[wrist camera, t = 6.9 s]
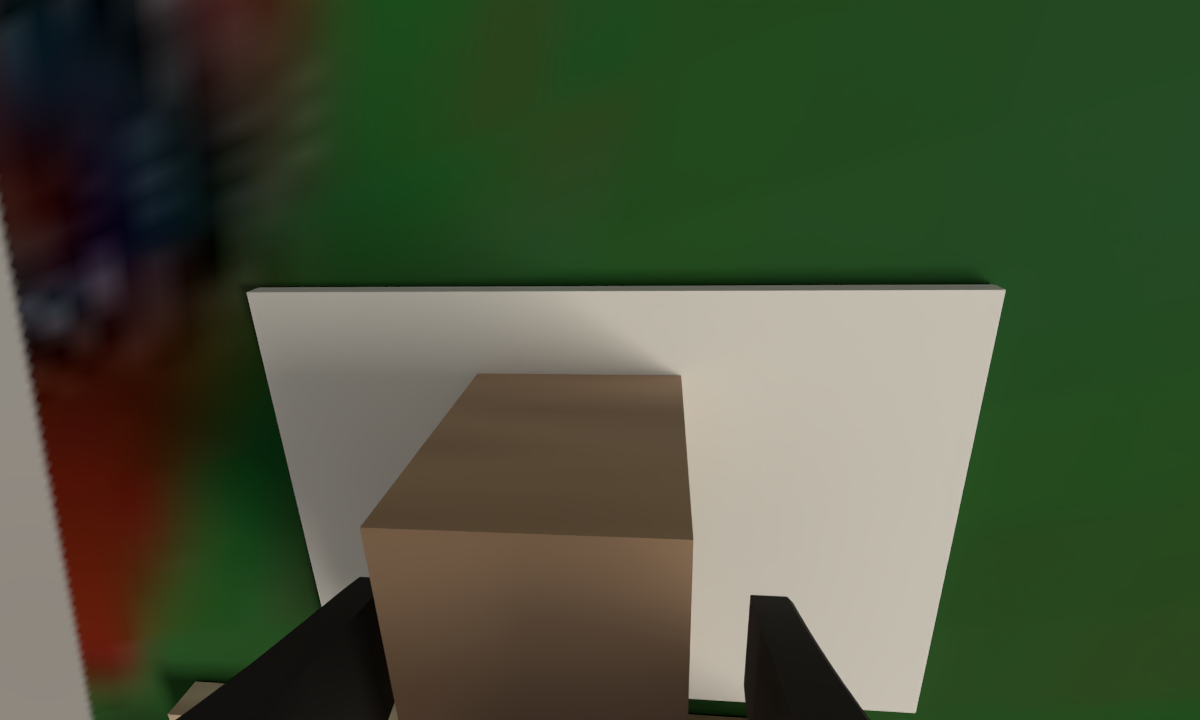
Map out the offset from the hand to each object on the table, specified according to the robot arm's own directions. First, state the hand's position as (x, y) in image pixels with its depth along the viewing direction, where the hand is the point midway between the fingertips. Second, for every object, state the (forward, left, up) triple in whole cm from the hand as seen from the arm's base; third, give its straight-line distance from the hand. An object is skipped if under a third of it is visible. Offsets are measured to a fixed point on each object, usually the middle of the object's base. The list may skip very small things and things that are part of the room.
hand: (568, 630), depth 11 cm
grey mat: (0, 0, -3) cm, 3 cm away
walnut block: (0, 0, -3) cm, 3 cm away
